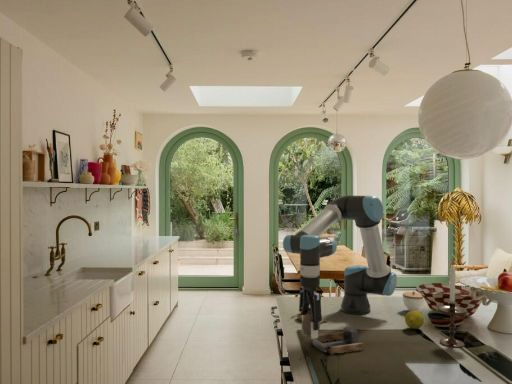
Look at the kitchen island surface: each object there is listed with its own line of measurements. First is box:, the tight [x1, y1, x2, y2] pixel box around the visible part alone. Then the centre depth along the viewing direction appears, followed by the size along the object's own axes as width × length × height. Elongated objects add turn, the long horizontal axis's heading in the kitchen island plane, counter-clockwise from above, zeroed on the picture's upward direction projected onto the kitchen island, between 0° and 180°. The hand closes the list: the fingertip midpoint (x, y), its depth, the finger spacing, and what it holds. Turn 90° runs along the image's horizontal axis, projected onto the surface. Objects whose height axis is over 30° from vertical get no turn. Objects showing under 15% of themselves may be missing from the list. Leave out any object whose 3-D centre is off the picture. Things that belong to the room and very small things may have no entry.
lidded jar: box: [402, 290, 425, 312], centre depth 221 cm, size 11×11×9 cm
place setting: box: [290, 300, 329, 324], centre depth 208 cm, size 18×20×6 cm
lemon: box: [404, 310, 425, 330], centre depth 190 cm, size 11×8×8 cm
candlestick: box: [437, 258, 468, 349], centre depth 171 cm, size 11×11×35 cm
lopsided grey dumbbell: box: [312, 326, 359, 353], centre depth 168 cm, size 16×9×6 cm, turn 110°
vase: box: [301, 312, 321, 338], centre depth 164 cm, size 7×7×9 cm
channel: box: [314, 331, 364, 355], centre depth 168 cm, size 14×14×3 cm
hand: (309, 334), depth 164 cm, fingers closed on vase, 7 cm apart
